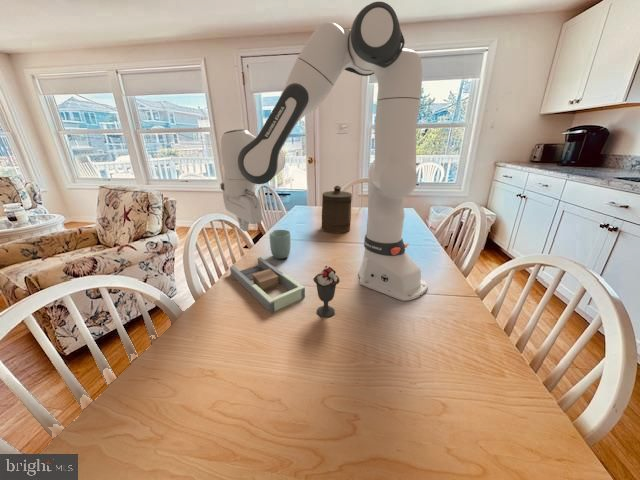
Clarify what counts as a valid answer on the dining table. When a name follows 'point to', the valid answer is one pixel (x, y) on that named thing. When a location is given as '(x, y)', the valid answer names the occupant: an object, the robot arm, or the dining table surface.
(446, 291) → the dining table surface
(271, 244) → the cup
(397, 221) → the robot arm
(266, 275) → the block
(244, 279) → the box
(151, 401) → the dining table surface
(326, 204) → the wooden container
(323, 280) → the sundae
